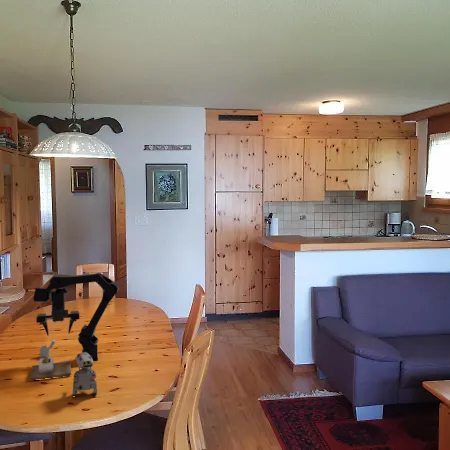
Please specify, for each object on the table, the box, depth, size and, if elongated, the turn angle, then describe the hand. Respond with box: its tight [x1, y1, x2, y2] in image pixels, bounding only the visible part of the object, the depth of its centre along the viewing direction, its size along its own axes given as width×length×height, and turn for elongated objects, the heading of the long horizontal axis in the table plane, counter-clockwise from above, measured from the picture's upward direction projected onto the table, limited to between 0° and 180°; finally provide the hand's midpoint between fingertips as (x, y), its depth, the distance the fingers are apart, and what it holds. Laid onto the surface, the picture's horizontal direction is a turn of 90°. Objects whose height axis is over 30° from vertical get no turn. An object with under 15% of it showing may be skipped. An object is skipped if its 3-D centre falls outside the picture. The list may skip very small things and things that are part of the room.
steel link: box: [38, 357, 55, 374], centre depth 189 cm, size 6×7×4 cm
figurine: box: [71, 352, 98, 397], centre depth 170 cm, size 9×12×15 cm
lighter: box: [39, 339, 57, 358], centre depth 208 cm, size 7×2×8 cm, turn 99°
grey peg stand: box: [29, 355, 72, 381], centre depth 189 cm, size 16×14×8 cm
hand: (58, 334), depth 204 cm, fingers open, 9 cm apart
